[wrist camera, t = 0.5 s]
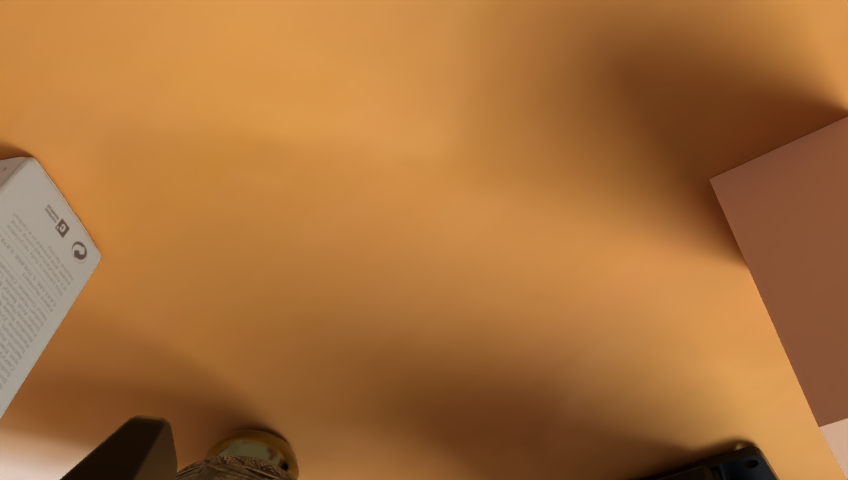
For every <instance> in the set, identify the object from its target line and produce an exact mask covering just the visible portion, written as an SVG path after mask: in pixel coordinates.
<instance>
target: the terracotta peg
mask: <svg viewBox="0 0 848 480" xmlns="http://www.w3.org/2000/svg"><path fill="white" fill-rule="evenodd" d="M709 180H710V182H711V185H712V187H713V189H714V191H715V194H716V196H717V198H718V201H719V203H720V205H721V207H722V210H723V212H724V214H725V216H726V219H727V221H728V223H729V225H730V228H731V230H732V232H733V234H734V237H735V239H736V241H737V243H738V246H739V248H740V250H741V252H742V255H743V257H744V259H745V262H746V264H747V266H748V268H749V271H750V273H751V275H752V277H753V280H754V282H755V284H756V286H757V289H758V291H759V293H760V295H761V298H762V300H763V302H764V304H765V307H766V309H767V311H768V313H769V316H770V318H771V320H772V323H773V325H774V327H775V329H776V332H777V334H778V336H779V338H780V341H781V343H782V345H783V347H784V350H785V352H786V354H787V356H788V359H789V361H790V363H791V365H792V368H793V370H794V372H795V374H796V377H797V379H798V381H799V384H800V386H801V388H802V390H803V393H804V395H805V397H806V399H807V402H808V404H809V406H810V408H811V411H812V413H813V415H814V417H815V420H816V422H817V424H818V426H819V428H820V430H821V432H822V434H823V436H824V438H825V440H826V441H827V443H828V445H829V447H830V449H831V451H832V453H833V454H834V456H835V458H836V460H837V462H838V464H839V466H840V467H841V469H842V471H843V473H844V475H845V477H846V479H847V480H848V116H847V117H845V118H843V119H841V120H839V121H836V122H834V123H832V124H830V125H828V126H825V127H823V128H821V129H819V130H817V131H814V132H812V133H810V134H808V135H806V136H803V137H801V138H799V139H797V140H795V141H792V142H790V143H788V144H786V145H784V146H781V147H779V148H777V149H775V150H773V151H770V152H768V153H766V154H764V155H762V156H759V157H757V158H755V159H753V160H751V161H748V162H746V163H744V164H742V165H740V166H737V167H735V168H733V169H731V170H729V171H726V172H724V173H722V174H720V175H718V176H715V177H713V178H711V179H709Z"/></svg>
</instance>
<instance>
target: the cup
mask: <svg viewBox="0 0 848 480" xmlns="http://www.w3.org/2000/svg"><path fill="white" fill-rule="evenodd" d="M298 477H299V468H298V462H297V459H296V456H295V453H294V452H293V450H292V448H291V447H290V446H289V445H288V444H287V443H286V442H285V441H283V440H282V439H280V438H279V437H277V436H275V435H273V434H270V433H268V432H264V431H260V430H253V429H243V430H236V431H233V432H230V433H228V434H226V435H224V436H223V437H221V438H220V439H219V440H218V441H217V442H216V443H215V444H214V445H213V446H212V447H211V448H210V450H209V451H208V453H207V456H206V459H203V460H201V461H198V462H196V463H193V464H191V465H189V466H187V467H185V468H184V469H182V470H181V471H179V472H178V473H177V475H176V480H298Z"/></svg>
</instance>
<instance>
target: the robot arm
mask: <svg viewBox="0 0 848 480" xmlns="http://www.w3.org/2000/svg"><path fill="white" fill-rule="evenodd" d="M176 475H177V457H176V451H175V446H174V440H173V434H172V429H171V425H170V423H169V421H168V420H167V419H165V418H159V417H150V416H135V417H132V418H130V419H129V420H128V421H126V422H125V423H124V424H123V425H122V426H121V427H120V428H118V429H117V430H116V431H115V432H114V433H113V434H112V435H110V436H109V437H108V438H107V439H106V440H105V441H103V442H102V443H101V444H100V445H99V446H98V447H97V448H95V449H94V450H93V451H92V452H91V453H90V454H89V455H87V456H86V457H85V458H84V459H83V460H82V461H81V462H79V463H78V464H77V465H76V466H75V467H74V468H73V469H71V470H70V471H69V472H68V473H67V474H66V475H65V476H63V477H62V478H61V479H60V480H176ZM643 480H779V478H778V477H777V475H776V473H775V472H774V470H773V468H772V467H771V465H770V464H769V462H768V460H767V459H766V457H765V455H764V454H763V452H762V451H761V450H760V449H759V448H756V447H746V448H742V449H739V450H735V451H732V452H729V453H726V454H723V455H719V456H716V457H713V458H710V459H707V460H703V461H700V462H697V463H694V464H691V465H687V466H684V467H681V468H678V469H675V470H672V471H668V472H665V473H662V474H659V475H656V476H652V477H649V478H646V479H643Z"/></svg>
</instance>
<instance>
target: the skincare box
mask: <svg viewBox="0 0 848 480" xmlns="http://www.w3.org/2000/svg"><path fill="white" fill-rule="evenodd" d="M100 260H101V254H100V252H99V251H98V249H97V247H96V246H95V244H94V242H93V241H92V239H91V237H90V236H89V234H88V232H87V231H86V229H85V228H84V226H83V224H82V223H81V221H80V220H79V219H78V217H77V216H76V214H75V213H74V212H73V210H72V209H71V207H70V206H69V205H68V203H67V202H66V200H65V198H64V197H63V195H62V194H61V193H60V191H59V190H58V188H57V187H56V185H55V184H54V183H53V182H52V180H51V178H50V177H49V176H48V175H47V173H46V172H45V170H44V169H43V168H42V166H41V165H40V164H39V162H38V161H37V160H36V159H35V158H33V157H15V158H10V159H5V160H0V419H1V417H2V416H3V414H4V412H5V411H6V409H7V408H8V406H9V405H10V403H11V401H12V400H13V398H14V396H15V395H16V393H17V391H18V390H19V388H20V387H21V385H22V384H23V382H24V381H25V379H26V377H27V376H28V374H29V373H30V371H31V370H32V368H33V366H34V365H35V363H36V362H37V360H38V359H39V357H40V355H41V354H42V352H43V351H44V349H45V347H46V346H47V344H48V343H49V341H50V340H51V338H52V336H53V335H54V333H55V332H56V330H57V329H58V327H59V325H60V324H61V322H62V321H63V319H64V318H65V316H66V314H67V313H68V311H69V310H70V308H71V306H72V305H73V303H74V302H75V300H76V298H77V296H78V295H79V294H80V292H81V291H82V289H83V288H84V286H85V284H86V282H87V281H88V279H89V277H90V276H91V274H92V273H93V272H94V270H95V268H96V267H97V265H98V263H99V261H100Z"/></svg>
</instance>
